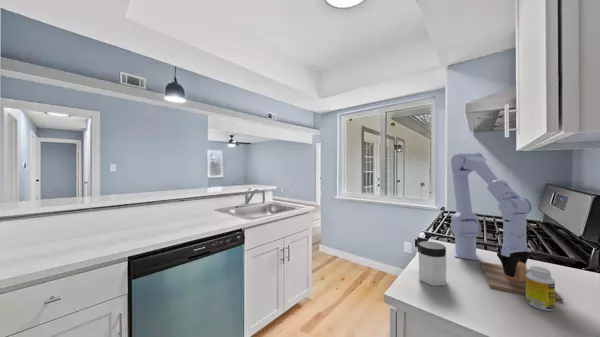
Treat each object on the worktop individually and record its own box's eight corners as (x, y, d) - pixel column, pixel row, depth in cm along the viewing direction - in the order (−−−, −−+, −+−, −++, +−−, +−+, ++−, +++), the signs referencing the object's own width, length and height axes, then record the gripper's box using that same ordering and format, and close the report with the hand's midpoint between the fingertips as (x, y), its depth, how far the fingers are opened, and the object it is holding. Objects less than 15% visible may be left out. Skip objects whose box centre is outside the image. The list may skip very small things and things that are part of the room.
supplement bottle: (552, 314, 60) (552, 276, 60) (523, 304, 64) (523, 268, 64) (556, 307, 63) (557, 270, 63) (528, 297, 68) (528, 263, 67)
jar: (447, 289, 73) (447, 251, 73) (418, 283, 77) (418, 247, 76) (445, 276, 81) (444, 242, 80) (419, 271, 85) (418, 239, 84)
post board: (479, 263, 90) (479, 252, 90) (536, 273, 82) (536, 260, 82) (490, 287, 73) (490, 273, 73) (562, 302, 65) (562, 286, 65)
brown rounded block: (513, 281, 75) (513, 266, 75) (499, 273, 80) (499, 259, 80) (531, 281, 75) (531, 266, 75) (515, 273, 80) (515, 259, 80)
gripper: (521, 240, 70) (521, 283, 71) (539, 232, 77) (538, 272, 78) (493, 234, 76) (493, 274, 77) (512, 227, 83) (512, 264, 84)
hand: (514, 273), depth 78 cm, fingers open, 7 cm apart
